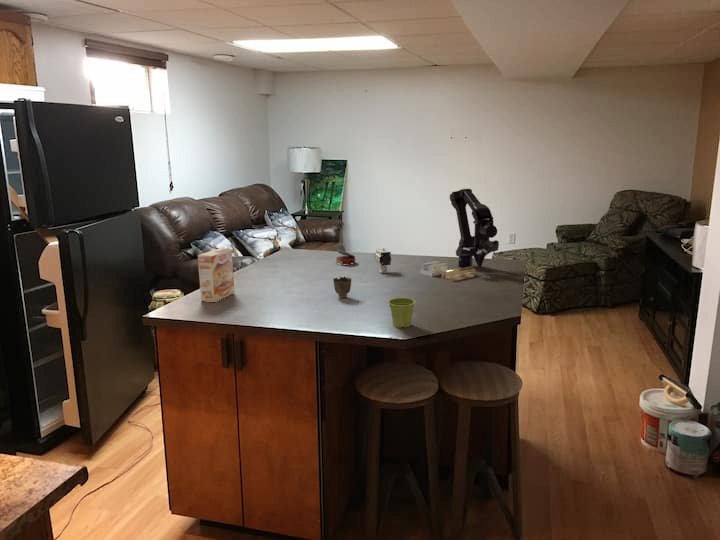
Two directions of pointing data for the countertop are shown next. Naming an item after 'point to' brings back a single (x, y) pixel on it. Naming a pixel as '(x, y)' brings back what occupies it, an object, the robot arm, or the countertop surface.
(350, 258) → the canned food
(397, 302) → the plant pot
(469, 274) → the beam
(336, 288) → the cup
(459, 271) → the axle
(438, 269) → the cradle
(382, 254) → the pneumatic valve
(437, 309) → the countertop surface
